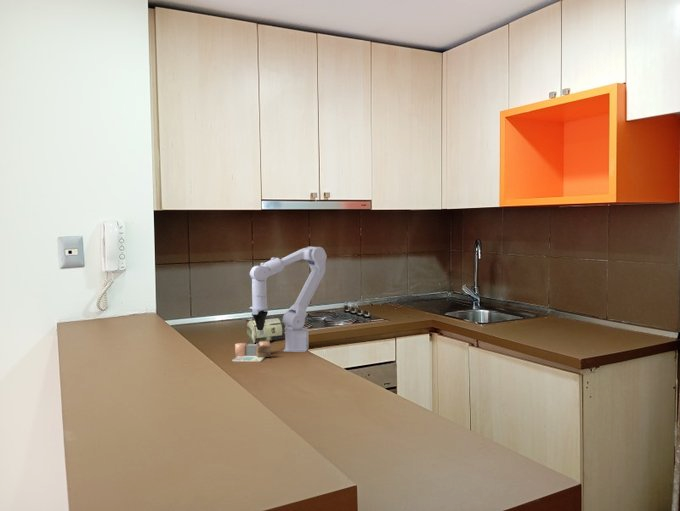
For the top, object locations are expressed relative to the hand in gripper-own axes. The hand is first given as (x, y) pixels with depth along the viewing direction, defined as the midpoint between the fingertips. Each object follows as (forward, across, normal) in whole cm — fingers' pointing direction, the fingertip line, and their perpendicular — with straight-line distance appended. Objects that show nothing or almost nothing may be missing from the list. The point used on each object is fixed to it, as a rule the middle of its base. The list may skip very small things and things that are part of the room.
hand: (260, 329), depth 216 cm
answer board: (+10, +5, -2) cm, 11 cm away
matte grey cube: (+9, +3, -2) cm, 10 cm away
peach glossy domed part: (+9, +4, -7) cm, 12 cm away
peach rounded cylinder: (+9, 0, +2) cm, 10 cm away
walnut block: (+9, +6, +2) cm, 11 cm away
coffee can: (+5, -19, -10) cm, 22 cm away
